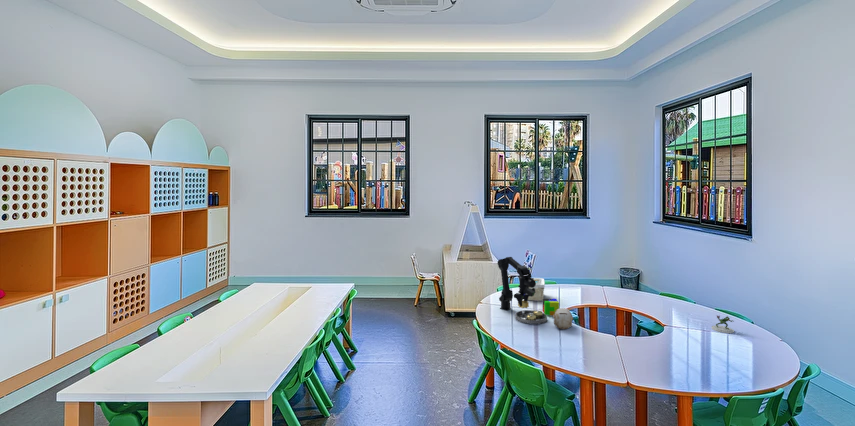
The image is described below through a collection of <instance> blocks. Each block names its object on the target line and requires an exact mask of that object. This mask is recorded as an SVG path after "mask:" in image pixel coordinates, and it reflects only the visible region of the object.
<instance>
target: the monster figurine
mask: <svg viewBox="0 0 855 426" xmlns="http://www.w3.org/2000/svg"><path fill="white" fill-rule="evenodd" d="M716 318H717V320H718V321H719V322H718V323H716V324H715V325H712V326H711V329H712V330H713V331H715V332H717V333H723V334H734V333H735V330H734V329H733V328H731V327H729V324H728V323H727V322H730V323H733V322H735V320H730V318H731V317H729V316H725V317H723V318H721V315H720V314H719V315H716ZM723 324H724V325H723Z"/></svg>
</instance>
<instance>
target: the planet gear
mask: <svg viewBox="0 0 855 426" xmlns="http://www.w3.org/2000/svg"><path fill="white" fill-rule="evenodd" d="M529 304H530V303H529V300H527V301H524V299H523V300H522V306H520V305H519V303H518V302H517V307H519V308H521V309H527V308H529V307H530V306H529Z"/></svg>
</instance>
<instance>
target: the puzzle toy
mask: <svg viewBox="0 0 855 426" xmlns="http://www.w3.org/2000/svg"><path fill="white" fill-rule="evenodd" d="M559 308H560V302H559V301H558V299H557V298H544V297H543V301H542V313H544V314H546V316H553V315H554V314H555V312H556V310H557V309H559Z"/></svg>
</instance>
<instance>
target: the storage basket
mask: <svg viewBox="0 0 855 426" xmlns="http://www.w3.org/2000/svg"><path fill="white" fill-rule="evenodd" d="M533 278H534V280H535V282H536V285H535V287H533V288H535V291H536V293H535V294H534V296H532V297H531V296H529V297H528V300H527V301H536V302H537V301H538V302H543V298H544V295H545V294H544V291H545V287H546V282H545V278H544V277H533ZM529 288H530V289H532V288H531V287H529Z"/></svg>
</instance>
